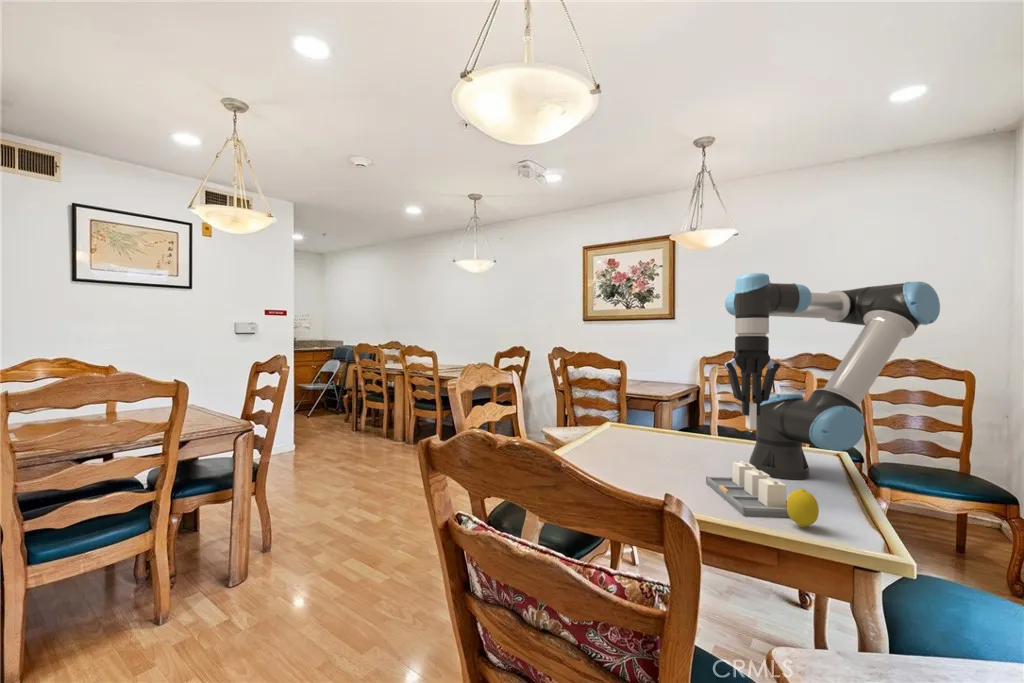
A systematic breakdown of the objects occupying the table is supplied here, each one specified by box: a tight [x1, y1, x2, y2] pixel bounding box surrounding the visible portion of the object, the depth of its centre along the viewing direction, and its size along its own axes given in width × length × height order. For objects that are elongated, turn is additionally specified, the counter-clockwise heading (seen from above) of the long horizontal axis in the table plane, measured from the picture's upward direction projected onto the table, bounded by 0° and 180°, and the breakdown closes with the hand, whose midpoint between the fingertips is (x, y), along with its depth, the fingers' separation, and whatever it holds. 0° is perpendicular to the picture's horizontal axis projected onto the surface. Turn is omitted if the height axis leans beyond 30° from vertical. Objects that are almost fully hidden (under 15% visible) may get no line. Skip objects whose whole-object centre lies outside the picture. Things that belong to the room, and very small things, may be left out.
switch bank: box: [705, 476, 791, 519], centre depth 106 cm, size 11×22×2 cm, turn 176°
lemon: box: [786, 488, 820, 528], centre depth 90 cm, size 6×6×8 cm
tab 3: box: [758, 476, 787, 508], centre depth 99 cm, size 4×4×6 cm
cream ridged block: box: [744, 468, 771, 496], centre depth 106 cm, size 4×4×6 cm
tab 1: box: [731, 460, 756, 486], centre depth 113 cm, size 4×4×6 cm
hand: (750, 428), depth 111 cm, fingers closed
